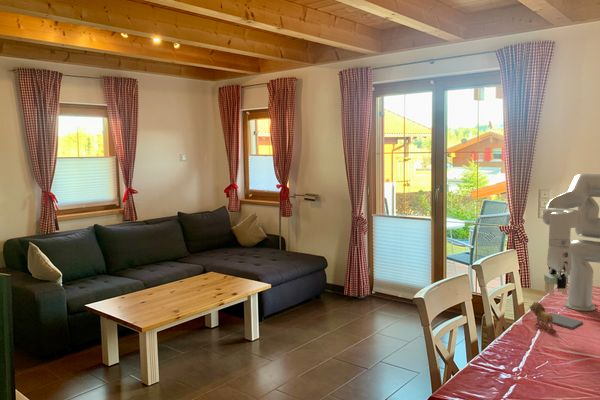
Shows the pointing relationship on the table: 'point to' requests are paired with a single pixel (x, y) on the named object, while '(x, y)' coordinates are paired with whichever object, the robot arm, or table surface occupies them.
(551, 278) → the sage stool
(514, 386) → the table surface
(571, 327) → the charcoal mat
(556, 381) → the table surface
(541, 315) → the lion figurine
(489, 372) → the table surface
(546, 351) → the table surface
